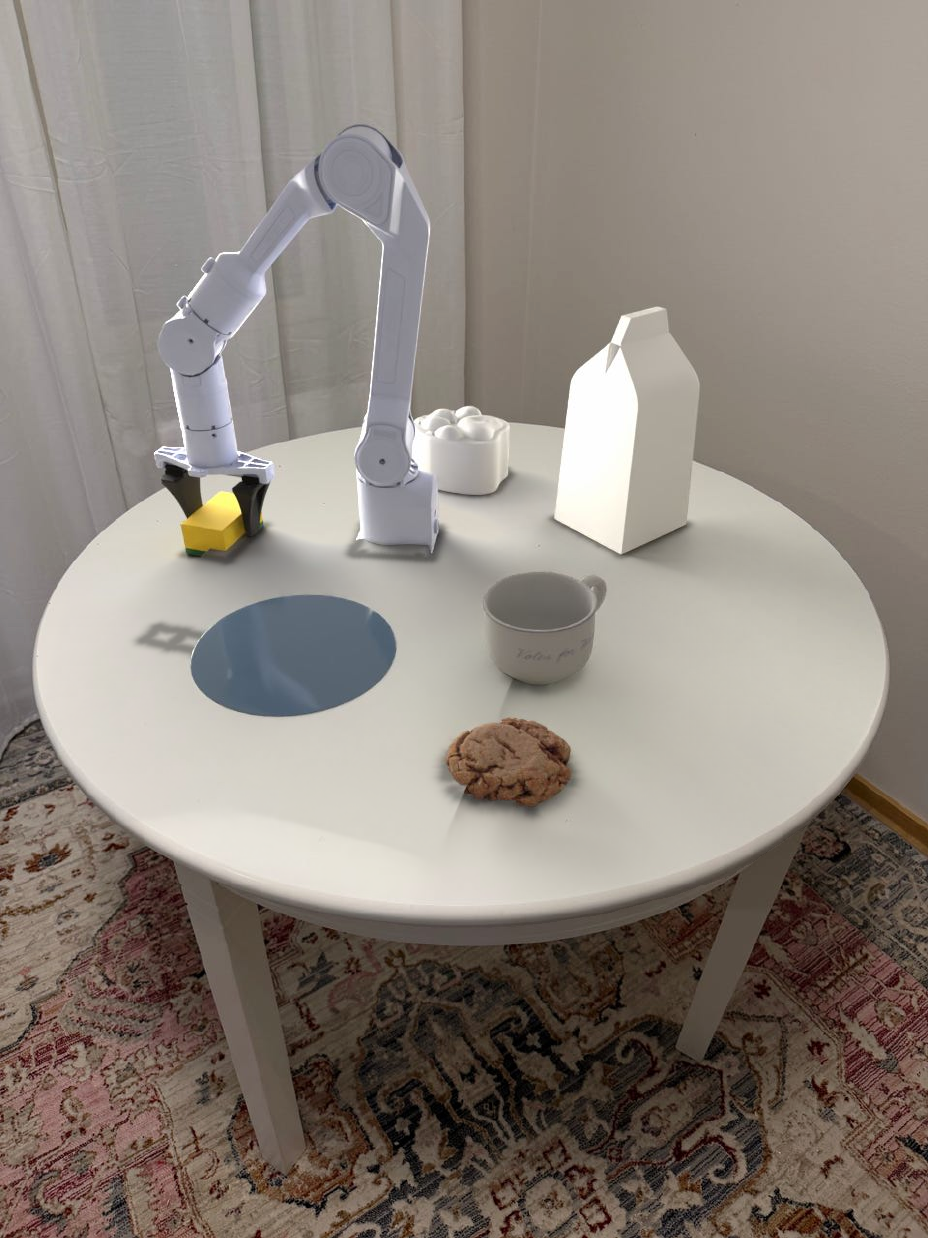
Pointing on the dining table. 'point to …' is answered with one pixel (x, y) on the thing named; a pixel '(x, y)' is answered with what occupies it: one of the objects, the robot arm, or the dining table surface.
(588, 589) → the teacup
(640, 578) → the dining table surface
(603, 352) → the milk
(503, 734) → the cookie
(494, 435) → the lumpy-topped squat cylinder
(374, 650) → the plate
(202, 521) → the sponge
